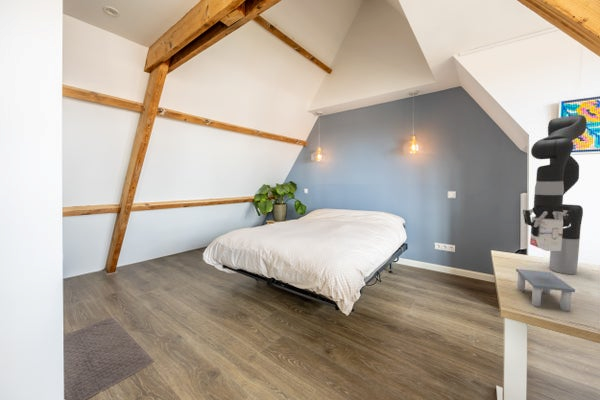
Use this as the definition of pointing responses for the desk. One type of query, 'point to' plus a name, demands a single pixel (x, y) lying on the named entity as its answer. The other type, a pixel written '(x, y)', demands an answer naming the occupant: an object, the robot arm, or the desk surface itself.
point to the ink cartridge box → (549, 234)
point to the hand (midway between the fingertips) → (545, 236)
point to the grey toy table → (544, 286)
